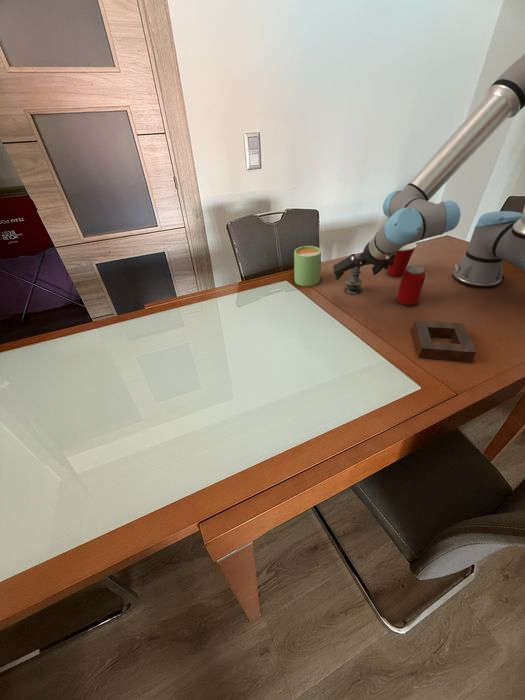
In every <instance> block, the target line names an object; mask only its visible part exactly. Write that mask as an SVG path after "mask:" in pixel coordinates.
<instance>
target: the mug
mask: <svg viewBox="0 0 525 700" xmlns="http://www.w3.org/2000/svg"><path fill="white" fill-rule="evenodd" d="M322 261H323V260H322V249H321V248H320V247H318V246H314V245H303V246H299V247H296V248H295V249H294V252H293V263H294V265H293V269H294V270H293V274H294V275H293V276H294V283H295V284H296V285H297V286H302V287H313V286H316V285H317V284H319V283H320V282H321V270H322V268H321V266H322Z"/></svg>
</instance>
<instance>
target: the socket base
mask: <svg viewBox="0 0 525 700" xmlns="http://www.w3.org/2000/svg"><path fill="white" fill-rule="evenodd" d="M411 331H412V336H413V341H414V345H415V348H416V352H417V357H418V358H419V359H431V360H443V361H444V360H445V361H453V362H463V363H464V362H465V363H473V360H474V358H475V356H476V354H477V349H476V348H475V347H474V344H473V341H472V339H471V337H470V335H469V332H468V330H467V328H466V326H465V324H464V322H450V321H449V322H448V321H447V322H446V321H434V320H433V321H432V320H431V321H429V320H416V319H415V320H414V321H413V324H412V328H411ZM431 337H432V338H443V339H450V341H451V343H449V342H436V341H433V340H432V338H431Z"/></svg>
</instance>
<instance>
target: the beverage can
mask: <svg viewBox="0 0 525 700" xmlns="http://www.w3.org/2000/svg"><path fill="white" fill-rule="evenodd" d="M425 279H426V272H425V268H424V267H422V266H421V265H416V264H415V265H412V264H411V265H407V267H406V269H405V271H404V272H403V275H402V276H401V278H400V283H399V288H398V292H397V296H396V300H397V301H398V302H399V303H400V304H402V305H404V306H411V305H416V304H417V303H418V302H419V299H420V295H421V292H422V289H423V286H424V282H425Z"/></svg>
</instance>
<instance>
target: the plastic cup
mask: <svg viewBox="0 0 525 700" xmlns="http://www.w3.org/2000/svg"><path fill="white" fill-rule="evenodd" d="M417 247H418V245H417V242H414V243H411V244H408V245H405V246H403V247H402V248H401V249H399V250H398V251H397V252H396V253H395V256H396V257H395V258H394V265H393V266H390V265H388V269H386V272H387V275H388V276H390V277H394V278H399V277H402V275H403V272H404V271H405V269H406V268H407V267H408V266H409V262H410V260H411V257H412V255H413V254H414V251H415V249H416V248H417ZM388 260H389V259H388Z"/></svg>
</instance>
